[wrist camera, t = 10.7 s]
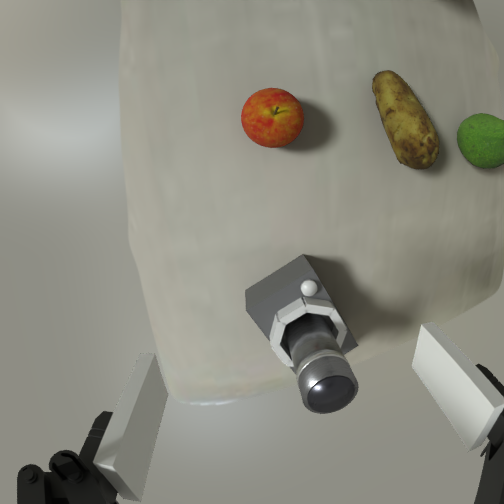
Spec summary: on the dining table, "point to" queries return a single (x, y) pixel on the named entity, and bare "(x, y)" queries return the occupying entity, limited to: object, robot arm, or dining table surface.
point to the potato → (405, 121)
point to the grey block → (293, 306)
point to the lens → (319, 365)
